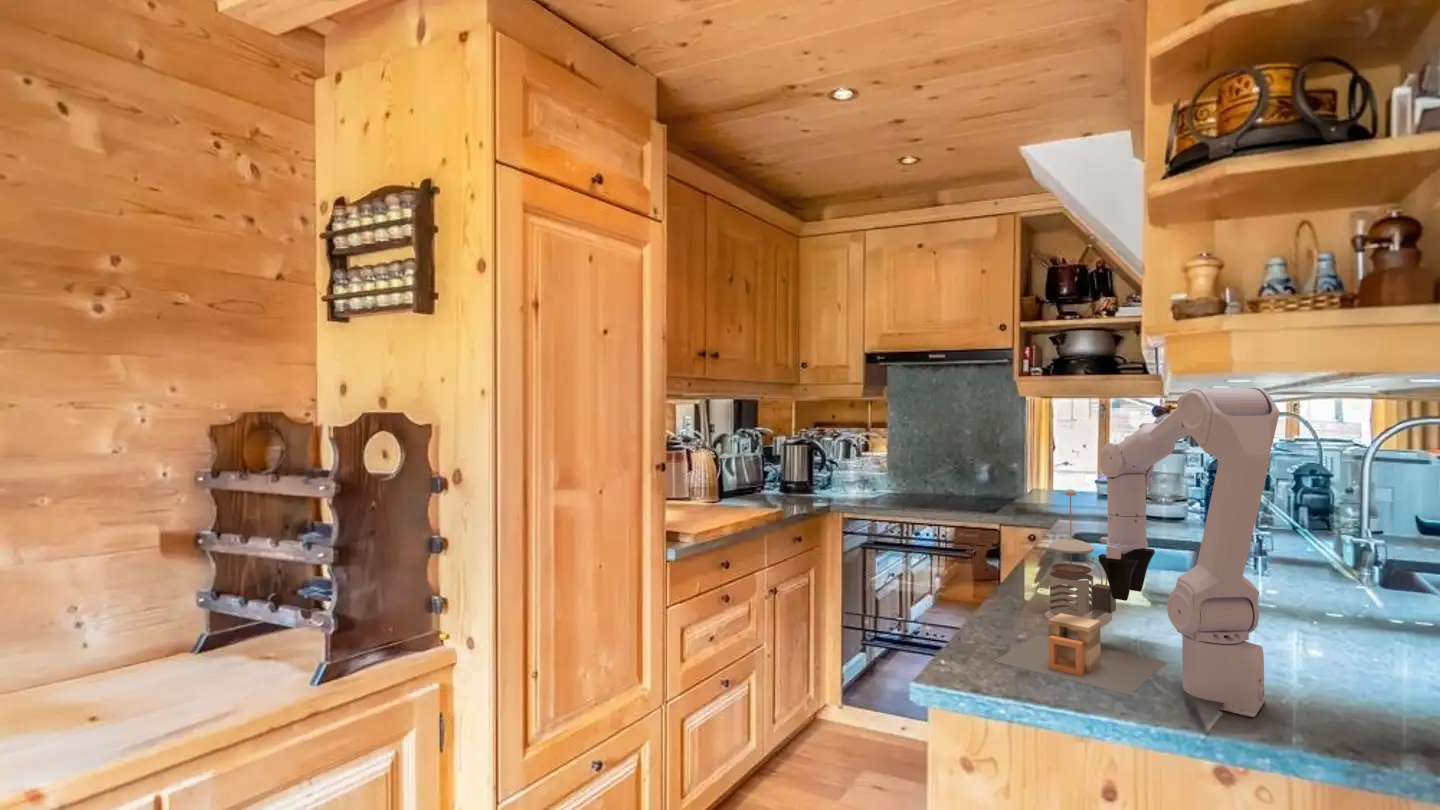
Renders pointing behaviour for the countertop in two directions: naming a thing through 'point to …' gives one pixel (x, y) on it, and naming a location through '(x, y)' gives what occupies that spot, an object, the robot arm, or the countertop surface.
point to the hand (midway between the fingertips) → (1127, 594)
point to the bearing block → (1086, 633)
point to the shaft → (1098, 608)
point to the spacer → (1059, 666)
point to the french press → (1071, 578)
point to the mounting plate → (1112, 674)
